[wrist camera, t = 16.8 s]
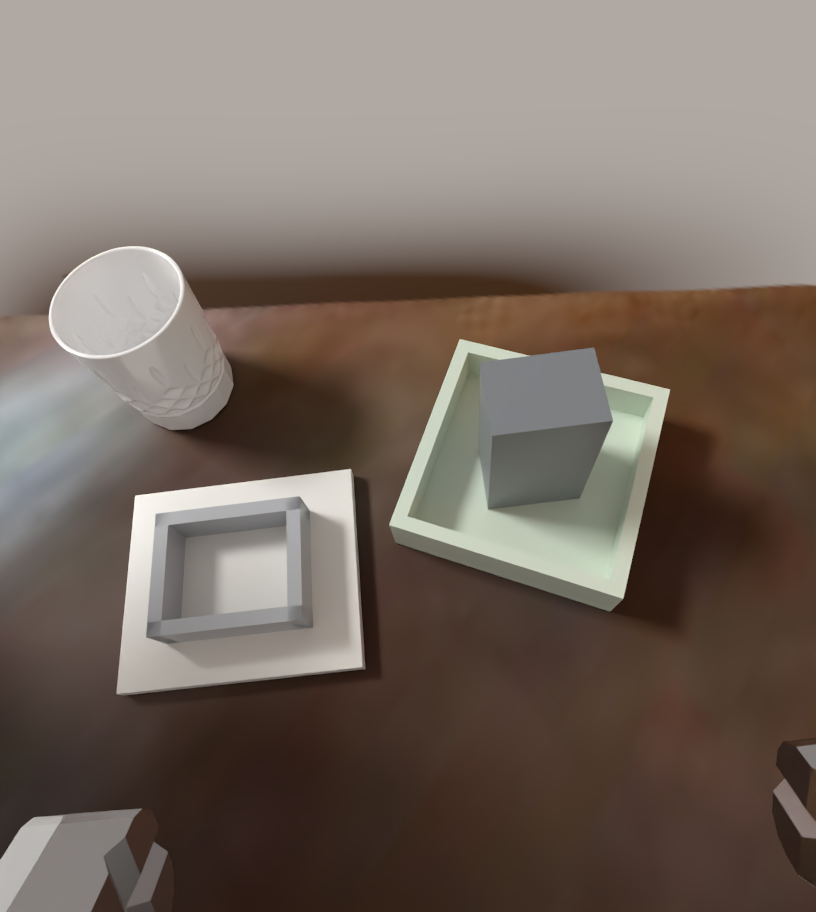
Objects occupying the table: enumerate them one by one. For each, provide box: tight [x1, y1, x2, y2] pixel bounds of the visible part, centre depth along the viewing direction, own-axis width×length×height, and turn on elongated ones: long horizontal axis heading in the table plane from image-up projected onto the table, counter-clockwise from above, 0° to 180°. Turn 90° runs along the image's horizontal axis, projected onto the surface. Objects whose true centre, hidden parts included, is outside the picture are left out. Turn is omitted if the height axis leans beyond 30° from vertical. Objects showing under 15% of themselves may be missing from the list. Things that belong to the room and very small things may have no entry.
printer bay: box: [116, 469, 365, 695], centre depth 37 cm, size 14×12×4 cm
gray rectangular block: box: [479, 348, 613, 509], centre depth 34 cm, size 6×4×10 cm
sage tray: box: [389, 339, 670, 612], centre depth 38 cm, size 13×13×4 cm
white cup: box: [49, 246, 234, 430], centre depth 40 cm, size 8×8×10 cm
